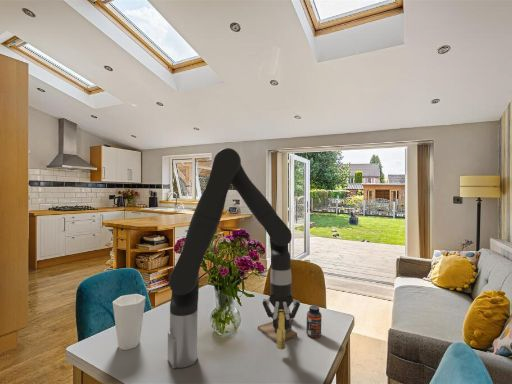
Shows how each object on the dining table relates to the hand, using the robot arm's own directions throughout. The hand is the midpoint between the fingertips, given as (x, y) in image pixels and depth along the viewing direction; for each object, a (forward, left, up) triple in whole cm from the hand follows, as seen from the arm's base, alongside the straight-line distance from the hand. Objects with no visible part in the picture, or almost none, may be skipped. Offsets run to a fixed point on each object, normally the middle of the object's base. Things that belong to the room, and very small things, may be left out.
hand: (281, 328), depth 98 cm
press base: (+8, +13, -10) cm, 18 cm away
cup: (-44, +36, -10) cm, 58 cm away
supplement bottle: (+20, +3, -10) cm, 23 cm away
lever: (+5, +7, -7) cm, 11 cm away
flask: (+19, +20, -10) cm, 30 cm away
